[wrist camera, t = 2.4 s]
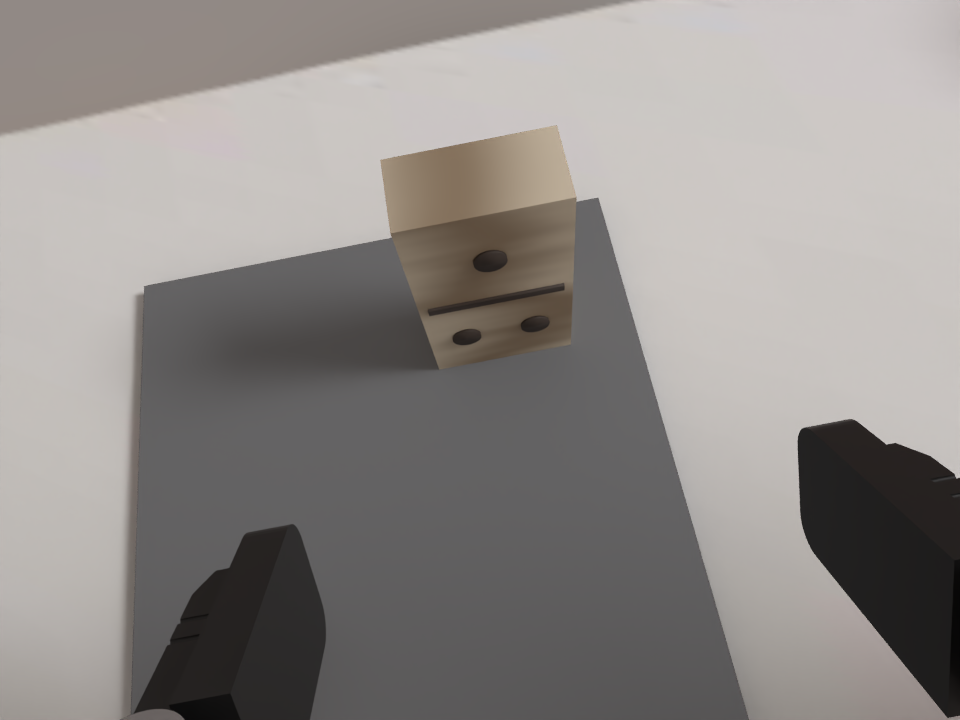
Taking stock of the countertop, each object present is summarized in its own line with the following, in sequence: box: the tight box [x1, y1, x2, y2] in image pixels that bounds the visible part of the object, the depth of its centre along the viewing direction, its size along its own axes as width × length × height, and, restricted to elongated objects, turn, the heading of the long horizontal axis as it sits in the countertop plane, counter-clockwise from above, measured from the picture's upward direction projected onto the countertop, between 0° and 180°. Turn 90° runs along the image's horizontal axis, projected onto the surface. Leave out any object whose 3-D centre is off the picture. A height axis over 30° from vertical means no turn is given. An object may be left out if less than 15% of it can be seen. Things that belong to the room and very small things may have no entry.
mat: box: [131, 198, 749, 720], centre depth 26 cm, size 19×24×1 cm
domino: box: [380, 125, 576, 370], centre depth 24 cm, size 5×3×9 cm, turn 100°
